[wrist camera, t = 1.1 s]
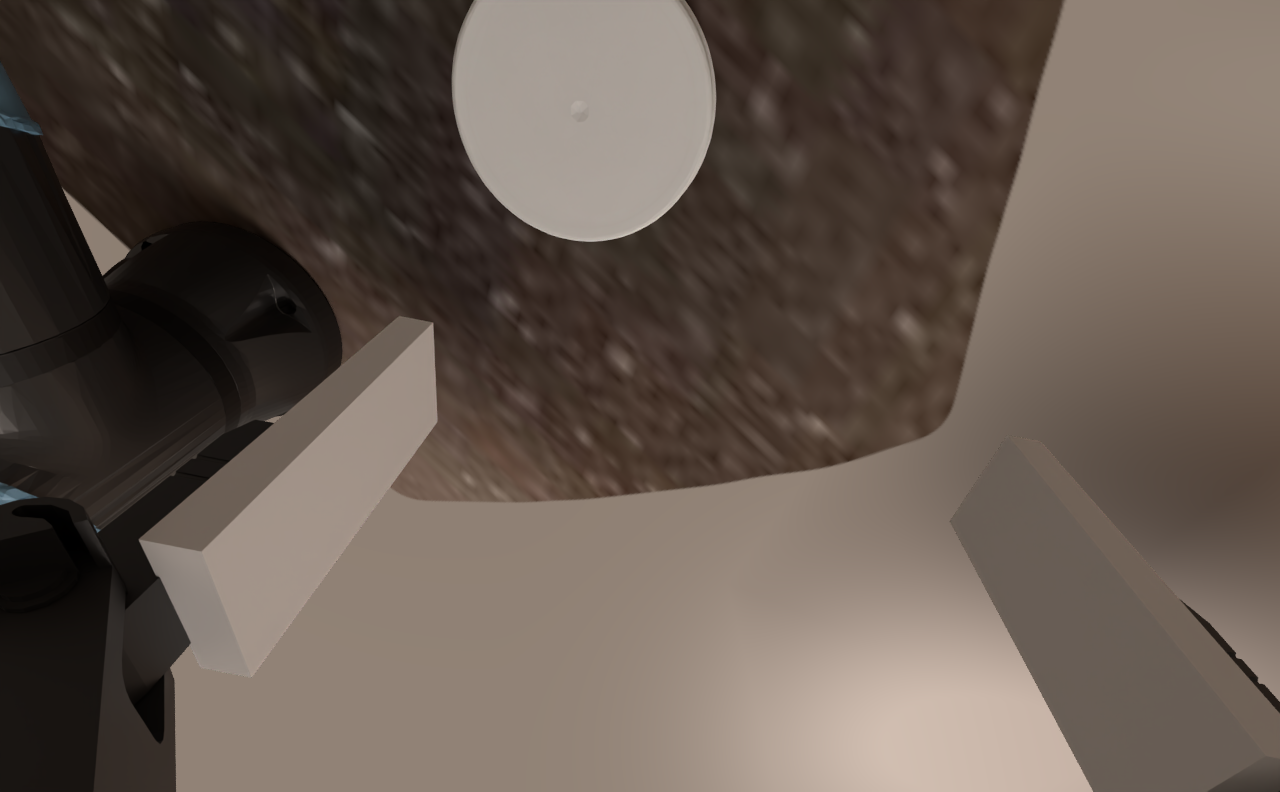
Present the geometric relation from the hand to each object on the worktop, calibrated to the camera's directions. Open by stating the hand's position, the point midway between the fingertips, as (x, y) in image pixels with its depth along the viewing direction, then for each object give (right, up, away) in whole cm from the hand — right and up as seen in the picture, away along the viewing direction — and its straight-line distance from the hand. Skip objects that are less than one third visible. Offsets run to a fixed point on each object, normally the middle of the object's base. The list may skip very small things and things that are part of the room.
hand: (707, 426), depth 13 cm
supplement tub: (-2, +18, +19) cm, 26 cm away
